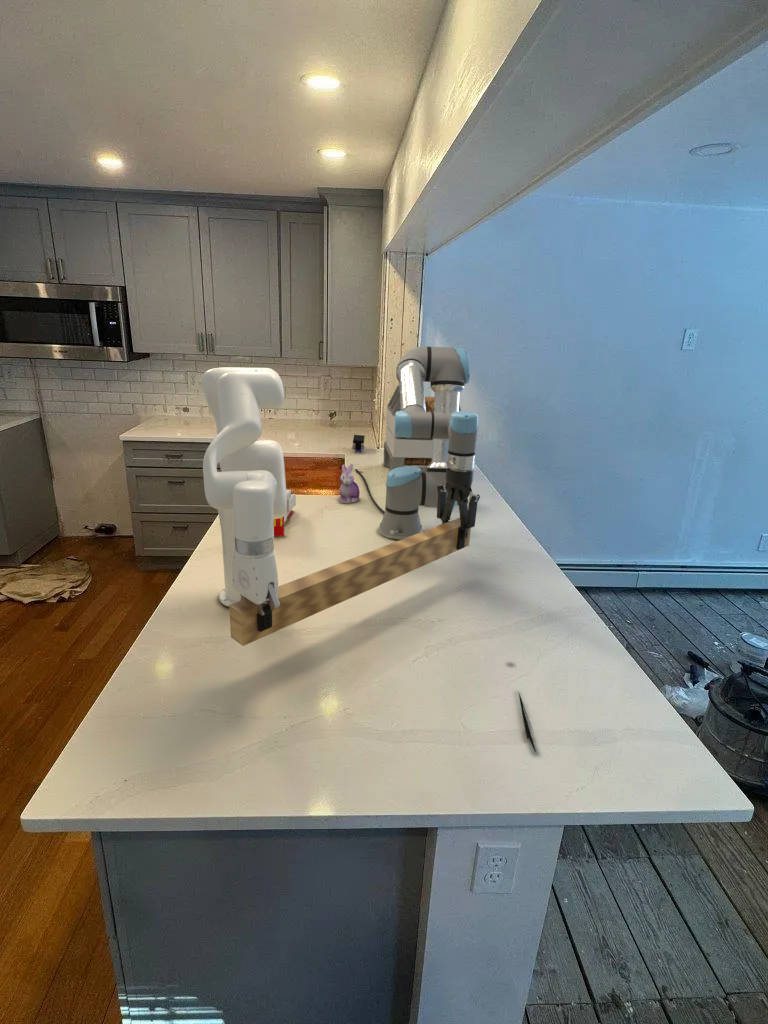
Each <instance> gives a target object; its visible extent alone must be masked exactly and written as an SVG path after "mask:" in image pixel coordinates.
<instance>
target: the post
mask: <svg viewBox="0 0 768 1024" xmlns="http://www.w3.org/2000/svg"><path fill="white" fill-rule="evenodd" d="M460 527H461V523H460V517H457V518H455V519H451V520H449V522H447V523H444V524H442V523H441V524H439V525H437V526H434V527H431V528H428V529H426V530H422V532H420V533H418V534H415V535H413V536H410V537H407V538H405V539H402V540H396V541H394V542H391V543H389V544H387V545H384V546H381V547H379V548H376V549H373V550H371V551H368V552H365V553H362V554H360V555H357V556H355V557H352V558H350V559H347V560H344V561H342V562H338V563H336V564H334V565H331V566H328V567H326V568H322V569H320V570H318V571H315V572H313V573H310V574H308V575H304V576H303V577H302V576H301V577H299V578H296V579H294V580H291V581H289V582H286V583H284V584H281V585H278V595H277V598H278V600H279V603H280V606H279V607H277V608H275V609H274V611H272V627H271V628H269V629H266V630H264V631H262V632H259V631H258V621H257V614H259V609H258V604H255V603H254V602H252V601H250V600H249V599H244V600H242V601H239V602H236V603H234V604H231V605H229V607H228V608H229V610H228V611H229V626H230V627H229V628H230V629H229V630H230V638H231V639H232V640H234V641H235V642H237V643H238V644H239V645H240V646H242V647H245V646H247V645H248V644H252V643H253V642H255V641H258V640H260V639H263V638H265V637H268V636H269V635H271V634H274V633H275V632H279V631H281V630H282V629H285V628H287V627H289V626H291V625H294V624H296V623H298V622H300V621H303V620H305V619H307V618H310V617H312V616H314V615H316V614H318V613H320V612H323V611H325V610H327V609H329V608H331V607H334V606H336V605H338V604H341V603H343V602H345V601H347V600H350V599H351V598H354V597H356V596H358V595H361V594H363V593H365V592H368V591H370V590H373V589H375V588H377V587H379V586H381V585H383V584H386V583H388V582H390V581H392V580H395V579H397V578H399V577H402V576H404V575H407V574H408V573H410V572H412V571H415V570H417V569H419V568H421V567H423V566H426V565H429V564H430V563H432V562H433V563H434V562H435V561H437V560H440V559H442V558H444V557H446V556H449V555H450V554H453V553H455V552H457V551H459V550H457V538H458V528H460ZM471 531H472V528H470V529H468V536H467V538H466V539H465V545H464V548H466V547H469V546H470V541H471V540H470V539H471ZM266 605H268V604H267V602H264V603H263V606H264V607H265V606H266Z"/></svg>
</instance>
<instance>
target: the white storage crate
mask: <svg viewBox="0 0 768 1024" xmlns="http://www.w3.org/2000/svg"><path fill="white" fill-rule="evenodd" d="M425 406H426V412H434V396H425ZM398 411H401V406H400V384H398V385H397V386H396V388H395V390H394V392H393V394H392V395H391V398H390V400H389V402H388V404H387V405H386V413H385V414H386V415H385V423H386V428H385V438H384V442H383V466H384V467H388V468H389V472H390V471H391V470H392V469H395V468H398V467H405V466H413V467H428V466H429V465H430V464H431V462H432V442H433V439H430V438H404V437H397V436H396V435H395V433H394V424H395V413H396V412H398ZM459 411H462V408H461V405H460V404H459Z"/></svg>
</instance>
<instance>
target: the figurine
mask: <svg viewBox="0 0 768 1024" xmlns="http://www.w3.org/2000/svg"><path fill="white" fill-rule="evenodd" d="M353 469H354V464H353V463H351V464H350V465H348V467H347V466H346V464H342V465H341V471H342V472H341V475H340V477H339V481H340V483H341V484H340V487H339V497H338V498H339V502H340V503H342V504H351V503H356V502H358V501H359V499H360V495H361V494H360V492H361V491H360V487H359V485H358V484H357V482H355V481H354V480H355V477H354V475H353V473H352V472H353Z"/></svg>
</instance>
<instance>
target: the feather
mask: <svg viewBox="0 0 768 1024" xmlns="http://www.w3.org/2000/svg"><path fill="white" fill-rule="evenodd" d="M517 692H518V696H519V702H520V707H521V714H522V721H523V724H524V730H525V736H526V740H529V741H530V743H531V745H532V747H533V750H534V752H535V753H536V752H537V750H536V748H535V743H534V740H533V738H535V735H534V734H535V733H534V729H533V728H532V726H531V725H532V724H531V721H530V718H529V715H528V714H527V710H526V707H525V705H524V702H523V699H522V697H521V694H520V691H517ZM529 726H530V727H529ZM531 733H532V734H531ZM532 736H533V737H532Z"/></svg>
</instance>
